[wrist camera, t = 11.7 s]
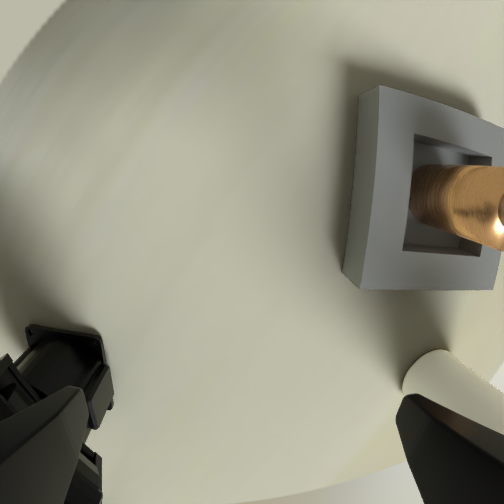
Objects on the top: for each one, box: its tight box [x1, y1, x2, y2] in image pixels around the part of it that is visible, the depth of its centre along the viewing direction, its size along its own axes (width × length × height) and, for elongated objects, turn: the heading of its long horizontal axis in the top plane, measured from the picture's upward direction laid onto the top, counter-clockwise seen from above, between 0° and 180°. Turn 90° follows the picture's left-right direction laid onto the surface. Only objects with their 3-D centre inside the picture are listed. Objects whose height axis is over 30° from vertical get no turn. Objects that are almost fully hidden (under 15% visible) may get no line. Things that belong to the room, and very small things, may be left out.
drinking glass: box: [402, 349, 504, 435], centre depth 15 cm, size 7×7×15 cm
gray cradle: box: [342, 85, 504, 290], centre depth 17 cm, size 11×11×3 cm
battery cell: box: [408, 164, 504, 251], centre depth 14 cm, size 4×4×8 cm
